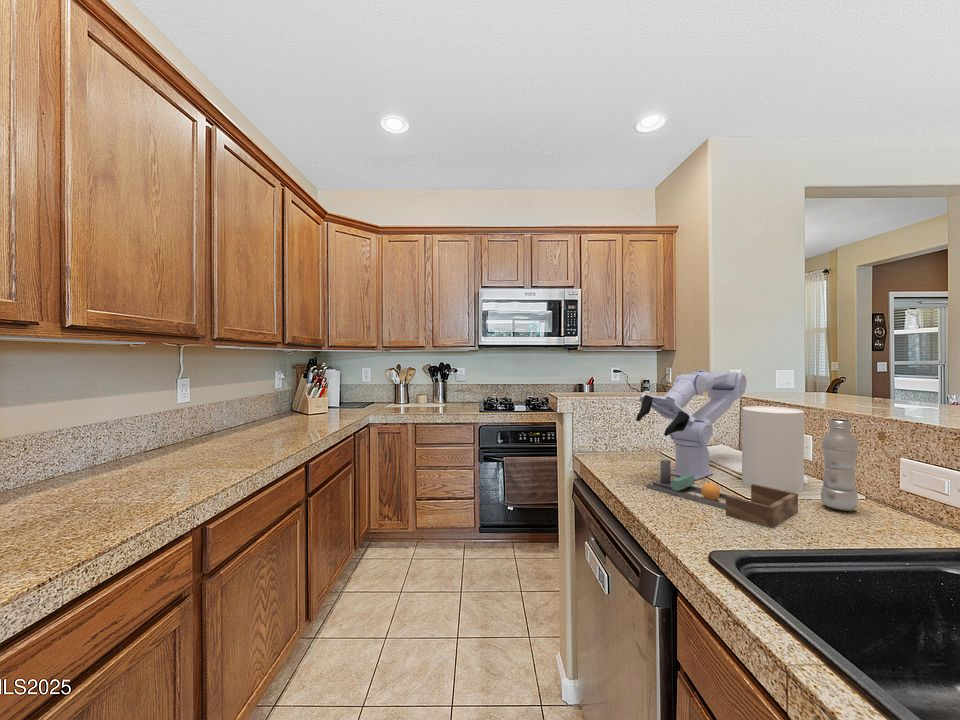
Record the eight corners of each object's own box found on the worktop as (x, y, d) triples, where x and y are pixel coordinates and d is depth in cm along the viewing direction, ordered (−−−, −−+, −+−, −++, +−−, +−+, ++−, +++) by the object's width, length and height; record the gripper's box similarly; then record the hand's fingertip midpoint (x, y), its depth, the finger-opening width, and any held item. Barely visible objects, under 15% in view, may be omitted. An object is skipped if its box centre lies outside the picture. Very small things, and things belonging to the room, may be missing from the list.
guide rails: (662, 482, 117) (662, 478, 117) (742, 502, 101) (742, 498, 101) (647, 487, 113) (646, 483, 113) (727, 509, 97) (727, 505, 97)
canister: (760, 474, 123) (760, 405, 123) (814, 487, 111) (815, 410, 111) (731, 481, 117) (731, 408, 117) (785, 496, 105) (785, 414, 105)
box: (752, 500, 102) (752, 483, 102) (797, 511, 95) (798, 493, 95) (725, 514, 94) (725, 496, 94) (772, 528, 87) (772, 508, 87)
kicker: (666, 481, 117) (666, 457, 117) (694, 488, 111) (694, 462, 111) (649, 487, 112) (649, 462, 112) (677, 494, 106) (677, 468, 106)
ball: (706, 495, 106) (706, 479, 106) (723, 500, 103) (723, 483, 103) (698, 499, 104) (698, 482, 104) (715, 503, 101) (715, 486, 101)
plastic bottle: (849, 505, 99) (850, 418, 98) (864, 516, 92) (865, 423, 92) (815, 502, 101) (816, 417, 100) (828, 512, 94) (828, 421, 94)
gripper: (653, 377, 120) (628, 400, 113) (706, 401, 112) (683, 428, 104) (648, 396, 124) (624, 420, 117) (698, 420, 116) (676, 448, 108)
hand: (651, 425), depth 111 cm, fingers open, 7 cm apart
